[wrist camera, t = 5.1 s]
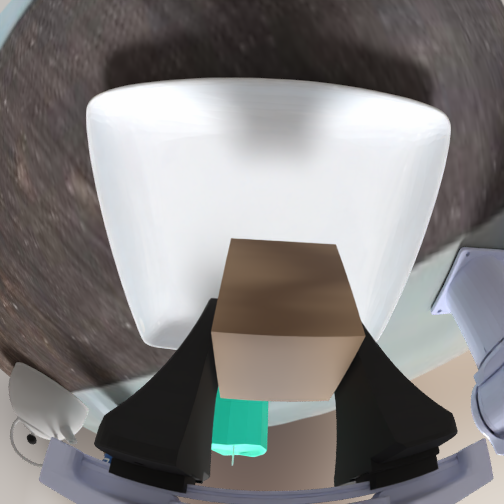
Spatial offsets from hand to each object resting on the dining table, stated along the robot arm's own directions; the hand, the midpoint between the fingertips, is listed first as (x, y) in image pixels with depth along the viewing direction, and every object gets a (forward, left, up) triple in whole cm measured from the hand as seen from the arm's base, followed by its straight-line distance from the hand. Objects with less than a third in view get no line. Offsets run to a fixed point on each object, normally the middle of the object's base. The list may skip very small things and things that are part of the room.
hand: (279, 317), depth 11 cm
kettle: (+51, +46, -9) cm, 69 cm away
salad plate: (+1, +1, -9) cm, 9 cm away
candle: (+3, +17, -9) cm, 19 cm away
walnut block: (0, 0, -2) cm, 2 cm away
